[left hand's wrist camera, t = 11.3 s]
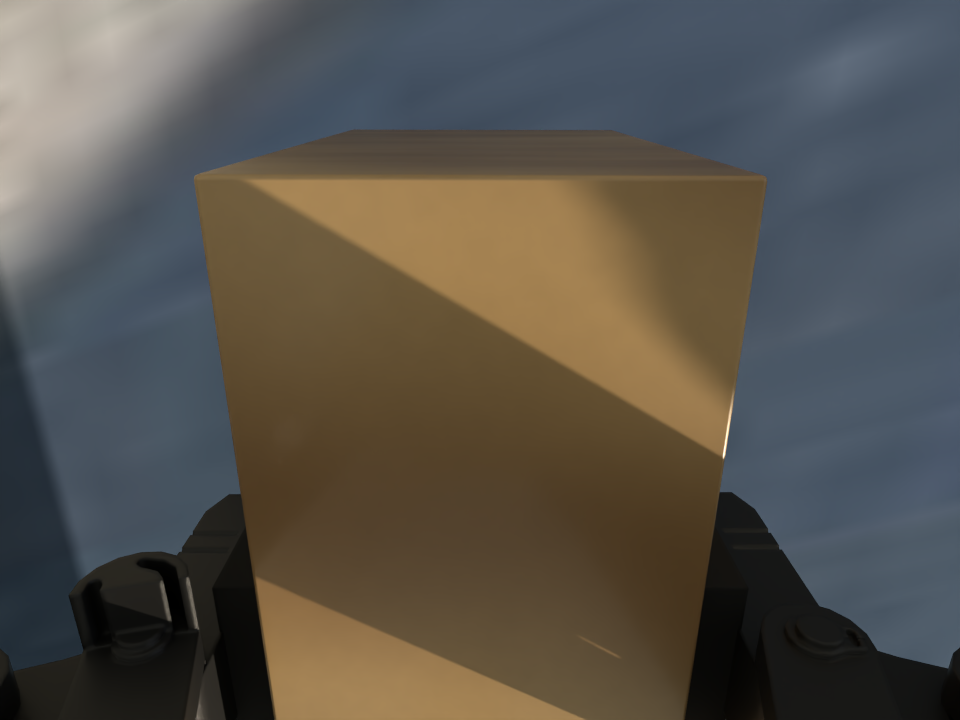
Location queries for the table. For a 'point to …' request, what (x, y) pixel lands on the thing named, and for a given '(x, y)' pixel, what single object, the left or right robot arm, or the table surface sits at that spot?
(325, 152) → the bar
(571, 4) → the table surface
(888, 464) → the table surface
